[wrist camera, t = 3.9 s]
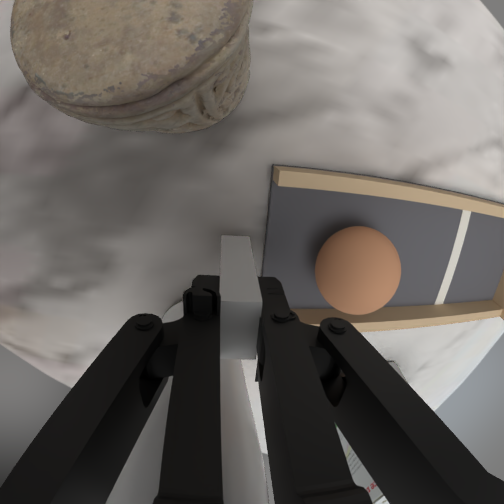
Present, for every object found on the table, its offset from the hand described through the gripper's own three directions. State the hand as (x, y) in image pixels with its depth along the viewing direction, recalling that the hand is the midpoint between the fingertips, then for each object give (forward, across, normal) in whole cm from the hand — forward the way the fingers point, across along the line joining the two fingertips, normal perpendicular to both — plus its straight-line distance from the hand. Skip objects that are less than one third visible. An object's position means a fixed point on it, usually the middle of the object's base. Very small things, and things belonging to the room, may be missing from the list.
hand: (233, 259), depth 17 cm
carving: (+2, -3, +10) cm, 11 cm away
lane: (+2, +14, 0) cm, 14 cm away
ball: (+2, +7, 0) cm, 7 cm away
